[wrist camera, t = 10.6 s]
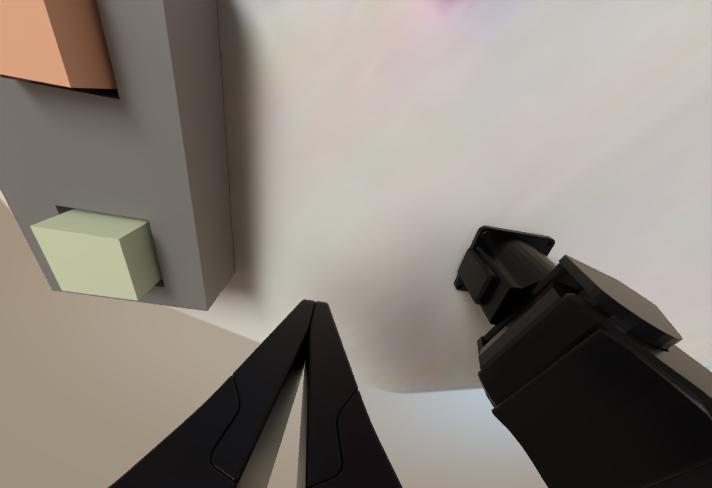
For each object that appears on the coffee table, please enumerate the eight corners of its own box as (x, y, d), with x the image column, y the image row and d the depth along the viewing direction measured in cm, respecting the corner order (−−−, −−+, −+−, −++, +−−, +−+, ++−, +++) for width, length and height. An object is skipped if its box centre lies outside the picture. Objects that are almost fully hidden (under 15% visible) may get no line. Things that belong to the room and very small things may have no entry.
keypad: (213, -43, 14) (147, -106, 10) (234, 272, 24) (207, 311, 20) (-11, -96, 13) (-195, -190, 9) (109, 254, 23) (52, 290, 19)
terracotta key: (141, -11, 14) (21, -71, 9) (158, 90, 16) (70, 87, 11) (46, -32, 13) (-134, -106, 8) (77, 74, 15) (-50, 65, 11)
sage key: (178, 204, 19) (118, 239, 15) (186, 255, 22) (137, 300, 17) (112, 193, 19) (30, 225, 14) (128, 246, 21) (61, 290, 16)
